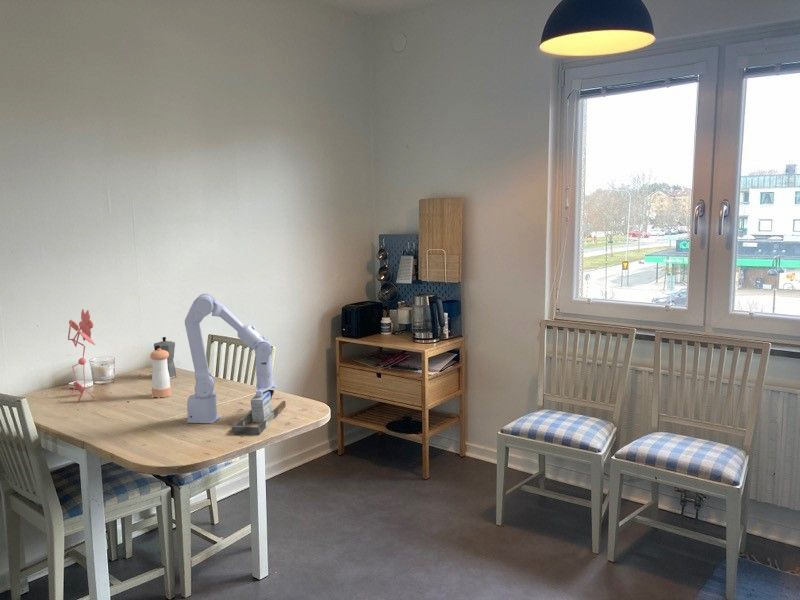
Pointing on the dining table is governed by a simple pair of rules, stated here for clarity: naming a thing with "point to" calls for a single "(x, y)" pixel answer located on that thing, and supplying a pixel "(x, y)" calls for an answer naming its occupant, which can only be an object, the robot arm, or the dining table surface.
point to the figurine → (86, 333)
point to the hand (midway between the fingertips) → (266, 410)
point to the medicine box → (261, 407)
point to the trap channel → (253, 430)
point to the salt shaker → (160, 374)
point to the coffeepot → (169, 347)
